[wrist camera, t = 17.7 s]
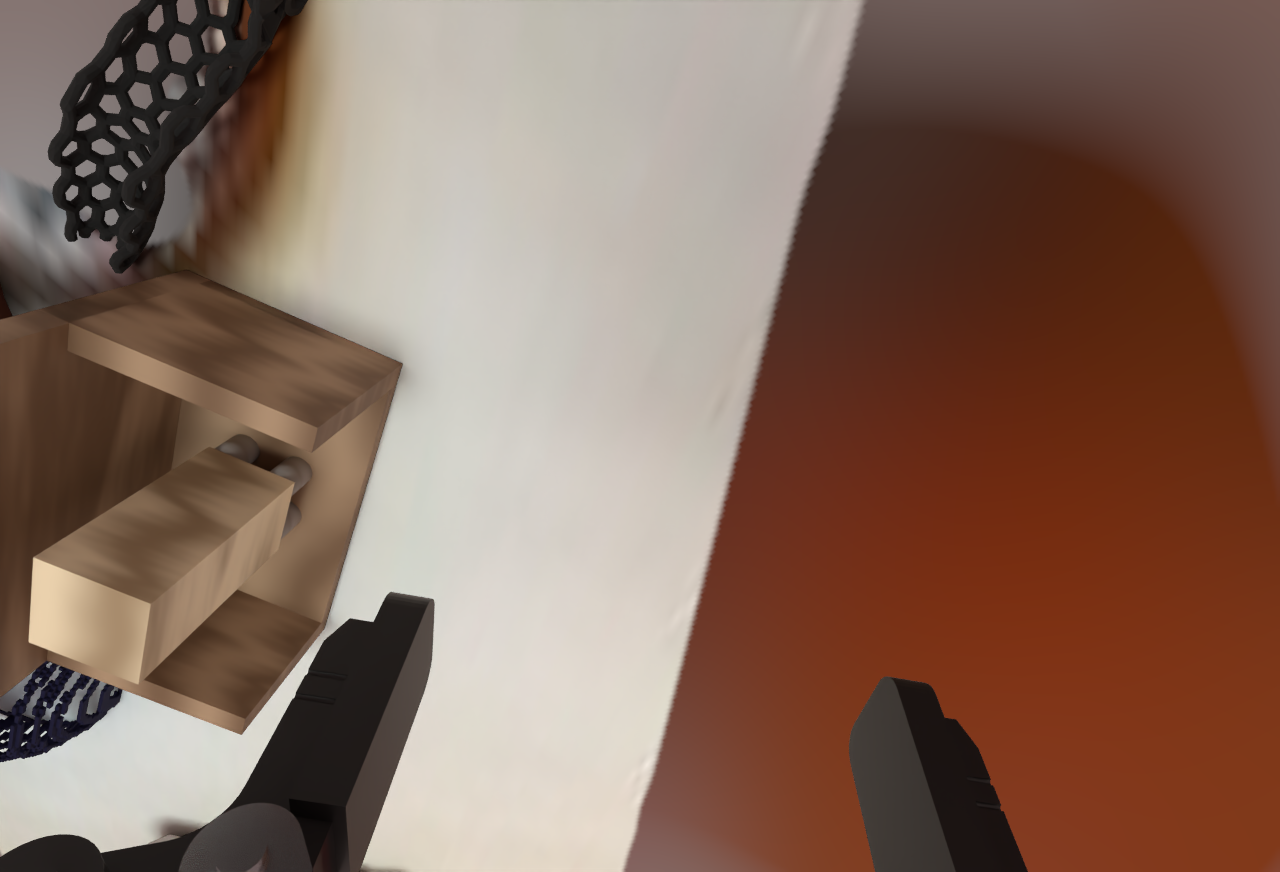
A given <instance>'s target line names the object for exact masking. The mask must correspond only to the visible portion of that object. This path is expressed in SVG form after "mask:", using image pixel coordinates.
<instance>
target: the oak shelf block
mask: <svg viewBox="0 0 1280 872" xmlns="http://www.w3.org/2000/svg"><path fill="white" fill-rule="evenodd" d="M294 484H295V482H293V481H290V480H288V479H285V478H283V477H281V476H278V475H276V474H274V473H271V472H269V471H266V470H264V469H262V468H259V467H257V466H254V465H252V464H250V463H247V462H245V461H242V460H240V459H238V458H235V457H233V456H231V455H228V454H226V453H223V452H221V451H219V450H216V449H214V448H211V447H208V448H206V449H204V450H203V451H201V452H200V453H198V454H197V455H195V456H193V457H192V458H190V459H189V460H187V461H185V462H184V463H182V464H181V465H179V466H177V467H176V468H174V469H173V470H171V471H170V472H168V473H166V474H165V475H163V476H162V477H160V478H158V479H157V480H155V481H154V482H152V483H151V484H149V485H147V486H146V487H144V488H143V489H141V490H139V491H138V492H136V493H135V494H133V495H131V496H130V497H128V498H127V499H125V500H124V501H122V502H120V503H119V504H117V505H116V506H114V507H112V508H111V509H109V510H108V511H106V512H104V513H103V514H101V515H100V516H98V517H97V518H95V519H93V520H92V521H90V522H89V523H87V524H85V525H84V526H82V527H81V528H79V529H78V530H76V531H74V532H73V533H71V534H70V535H68V536H66V537H65V538H63V539H62V540H60V541H58V542H57V543H55V544H54V545H52V546H51V547H49V548H47V549H46V550H44V551H43V552H41V553H39V554H38V555H36V556H35V557H33V571H32V589H31V607H30V625H29V643H32V644H34V645H37V646H40V647H42V648H45V649H47V650H50V651H53V652H55V653H58V654H60V655H63V656H65V657H68V658H71V659H73V660H76V661H78V662H81V663H84V664H86V665H89V666H91V667H94V668H97V669H99V670H102V671H104V672H107V673H109V674H112V675H115V676H117V677H120V678H122V679H125V680H128V681H130V682H133V683H135V684H138V685H139V684H140V683H141V682H142V681H143V680H144V679H145V678H146V677H147V676H148V675H149V674H150V673H151V672H152V671H153V670H154V669H155V668H156V667H157V666H158V665H159V664H160V663H161V662H162V661H163V660H164V659H165V658H166V657H168V656H169V655H170V654H171V653H172V652H173V651H174V650H175V649H176V648H177V647H178V646H179V645H180V644H181V643H182V642H183V641H184V640H185V639H186V638H187V637H188V636H189V635H190V634H191V633H192V632H193V631H194V630H195V629H197V628H198V627H199V626H200V625H201V624H202V623H203V622H204V621H205V620H206V619H207V618H208V617H209V616H210V615H211V614H212V613H213V612H214V611H215V610H216V609H217V608H218V607H219V606H220V605H221V604H222V603H223V602H224V601H226V600H227V599H228V598H229V597H230V596H231V595H232V594H233V593H234V592H235V591H236V590H237V589H238V588H239V587H240V586H241V585H242V584H243V583H244V582H245V581H246V580H247V579H248V578H249V577H250V576H251V575H252V574H253V573H255V572H256V571H257V570H258V569H259V568H260V567H261V566H262V565H263V564H264V563H265V562H266V561H267V560H268V559H269V558H270V557H271V556H272V555H273V554H274V553H275V552H276V551H277V550H278V549H279V545H280V540H281V536H282V532H283V528H284V524H285V520H286V516H287V512H288V508H289V504H290V500H291V496H292V492H293V488H294Z"/></svg>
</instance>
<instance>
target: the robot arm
mask: <svg viewBox="0 0 1280 872" xmlns="http://www.w3.org/2000/svg"><path fill="white" fill-rule="evenodd" d="M433 627H434V600H433V599H430V598H424V597H418V596H412V595H406V594H400V593H394V592H390V593H389V594H388V595H387V596H386V598H385V599H384V601H383V603H382V605H381V608H380V610H379V612H378V614H377V616H376V618H375V620H374V622H369V621H363V620H356V619H349V620H348V621H346V622H345V623H344V624H343V625H342V626H341V627H339V628H338V629H337V630H336V631H335V632H334V633H333V634H331V635H330V636H329V637H328V638H327V639H326V640H324V642H323V644H322V646H321V647H320V649H319V651H318V653H317V655H316V657H315V658H314V660H313V662H312V664H311V666H310V668H309V671H308V674H307V675H305V677H304V679H303V680H302V682H301V684H300V686H299V688H298V690H297V691H296V695H295V698H294V699H292V701H291V702H290V704H289V706H288V708H287V710H286V712H285V713H284V715H283V717H282V719H281V721H280V723H279V724H278V726H277V728H276V730H275V732H274V734H273V736H272V737H271V739H270V741H269V743H268V745H267V747H266V748H265V750H264V752H263V754H262V756H261V758H260V759H259V761H258V763H257V765H256V767H255V769H254V770H253V772H252V774H251V776H250V778H249V780H248V781H247V783H246V785H245V787H244V788H243V790H242V792H241V793H240V795H239V796H238V797H237V798H236V800H235V801H234V802H233V803H232V804H231V805H230V806H229V807H228V808H227V809H226V810H225V811H224V812H223V813H222V814H221V815H219V816H218V817H217V818H216V819H214V820H212V821H211V822H210V823H208V824H207V825H205V826H204V827H202V828H200V829H198V830H196V831H194V832H192V833H190V834H187V835H185V836H182V837H179V838H176V839H172V840H168V841H163V842H158V843H153V844H147V845H142V846H136V847H131V848H125V849H120V850H114V851H109V852H104V853H100V851H99V850H98V848H97V847H96V846H95V844H93V843H92V842H90V841H89V840H88V839H85V838H83V837H80V836H75V835H53V836H46V837H43V838H39V839H36V840H33V841H30V842H28V843H25V844H23V845H21V846H19V847H17V848H15V849H13V850H11V851H9V852H8V853H6V854H5V855H3V856H1V857H0V872H359V871H360V868H361V866H362V863H363V860H364V857H365V855H366V852H367V849H368V846H369V843H370V841H371V838H372V835H373V832H374V830H375V827H376V824H377V821H378V818H379V816H380V813H381V810H382V807H383V805H384V802H385V799H386V796H387V794H388V791H389V788H390V785H391V782H392V780H393V777H394V774H395V771H396V769H397V766H398V763H399V760H400V758H401V755H402V752H403V749H404V746H405V744H406V741H407V738H408V735H409V733H410V730H411V727H412V724H413V721H414V719H415V716H416V713H417V710H418V708H419V705H420V702H421V699H422V697H423V694H424V691H425V688H426V684H427V680H428V676H429V672H430V667H431V661H432V649H433ZM849 756H850V763H851V767H852V772H853V776H854V781H855V785H856V789H857V794H858V798H859V802H860V807H861V811H862V816H863V820H864V824H865V829H866V833H867V838H868V842H869V846H870V851H871V855H872V859H873V863H874V868H875V872H1028V871H1027V868H1026V866H1025V863H1024V861H1023V858H1022V856H1021V854H1020V851H1019V848H1018V846H1017V844H1016V841H1015V839H1014V836H1013V834H1012V831H1011V829H1010V826H1009V824H1008V821H1007V819H1006V816H1005V814H1004V812H1003V811H1001V809H1000V806H1001V804H1000V801H999V799H998V796H997V794H996V791H995V789H994V787H993V786H992V785H991V784H990V780H991V779H990V776H989V774H988V771H987V769H986V767H985V764H984V761H983V759H982V756H981V754H980V752H979V749H978V747H977V746H976V745H975V744H974V742H973V741H972V740H971V738H970V737H969V736H968V734H967V733H966V732H965V730H964V729H963V728H962V727H961V725H960V724H959V723H958V721H957V720H955V719H949V718H944V715H943V712H942V710H941V707H940V704H939V702H938V699H937V696H936V694H935V692H934V690H933V688H932V687H931V686H930V685H929V684H927V683H922V682H917V681H910V680H905V679H898V678H892V677H884V678H882V679H881V680H880V682H879V683H878V685H877V686H876V688H875V690H874V691H873V693H872V695H871V696H870V698H869V700H868V702H867V703H866V705H865V707H864V709H863V710H862V712H861V714H860V715H859V717H858V719H857V720H856V722H855V724H854V726H853V728H852V731H851V735H850V743H849Z"/></svg>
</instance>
